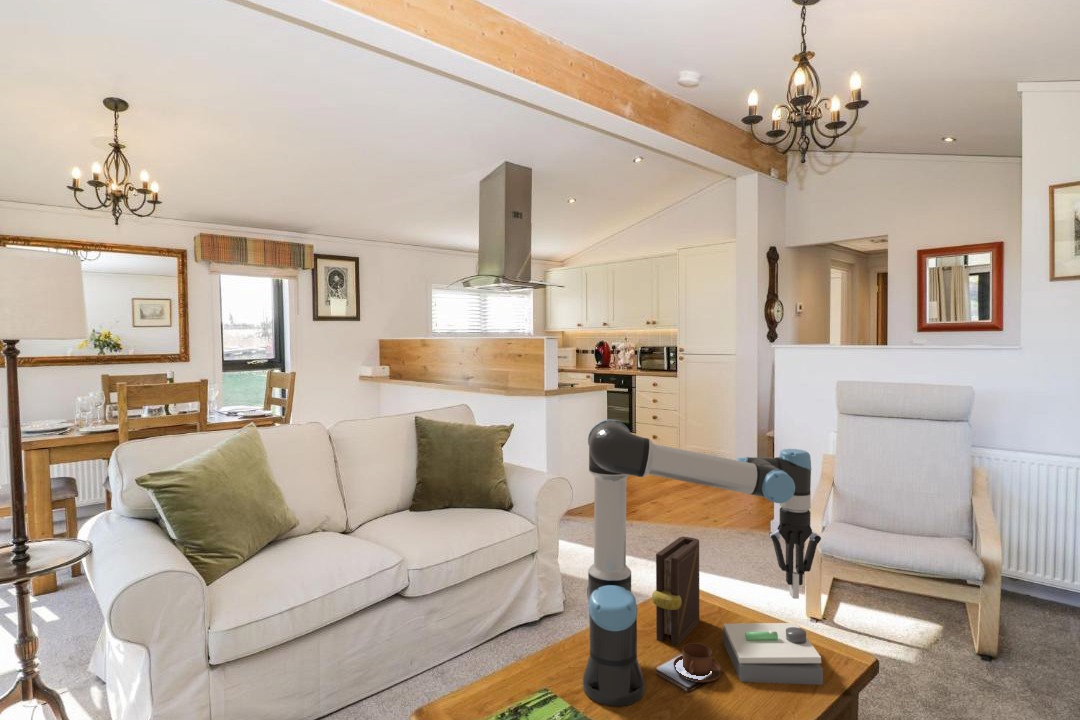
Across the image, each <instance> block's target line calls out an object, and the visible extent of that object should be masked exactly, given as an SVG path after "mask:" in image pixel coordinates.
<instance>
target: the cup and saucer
mask: <svg viewBox="0 0 1080 720" xmlns="http://www.w3.org/2000/svg"><path fill="white" fill-rule="evenodd" d="M682 659H683V667H684V668H685V670H686V671H687V672H689V673H690V674H691V675H696V676H705V675H708V674H709V673H710V671H712V676H711V677H709V678H708V679H706V680H698V679H693V678H689V677H686V676H684V675H682V674H681V673H679V672H678V671H677V670H676V667H675V665H676V663H677V662H678V661H679V660H682ZM673 669H674V671H676V672H677V674H678V673H679V674H680V675H679V674H678V675H679V676H680V677H682V676H683V677H685V678H687V679H686V680H688V679H689V680H688V681H690V680H693V681H692V682H694V681H697V682H696V683H710V682H713V681H716V680H717V679H719V677H721V674H722V666H721V665H720V664H719V663H718V662H717V661H716V660H715V659H713V651H712V649H711V648H710V647H709V646H707V645H705V644H701V643H696V642H694V643H693V642H692V643H691V642H690V643H687V644H685V645H683V647H682V655H680V656H678V657H676V658H675V659H674V661H673ZM683 677H682V678H683ZM685 678H684V679H685Z"/></svg>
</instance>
